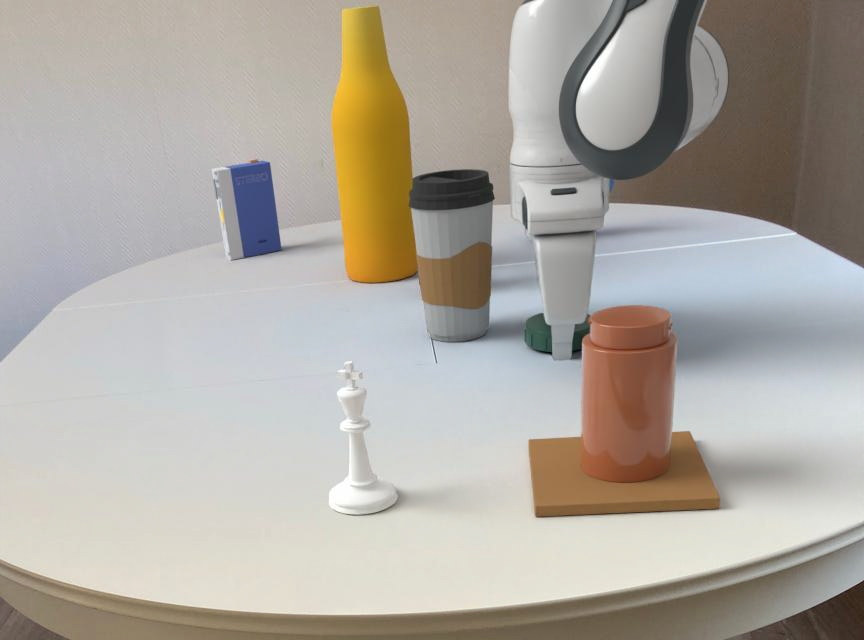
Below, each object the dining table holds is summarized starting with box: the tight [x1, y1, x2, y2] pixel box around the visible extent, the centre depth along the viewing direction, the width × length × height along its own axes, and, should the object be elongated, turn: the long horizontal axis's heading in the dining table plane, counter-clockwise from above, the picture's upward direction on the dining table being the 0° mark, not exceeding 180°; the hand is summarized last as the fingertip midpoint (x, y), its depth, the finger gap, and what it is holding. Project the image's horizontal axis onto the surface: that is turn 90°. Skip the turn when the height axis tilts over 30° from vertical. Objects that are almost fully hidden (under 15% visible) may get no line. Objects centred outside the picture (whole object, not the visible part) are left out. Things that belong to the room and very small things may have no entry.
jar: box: [580, 304, 679, 483], centre depth 72 cm, size 6×6×10 cm
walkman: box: [211, 158, 283, 261], centre depth 147 cm, size 8×3×12 cm, turn 117°
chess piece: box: [328, 360, 399, 516], centre depth 73 cm, size 5×5×10 cm
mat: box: [527, 430, 721, 518], centre depth 75 cm, size 12×12×1 cm
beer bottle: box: [330, 5, 418, 284], centre depth 126 cm, size 9×9×29 cm
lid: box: [524, 312, 592, 353], centre depth 102 cm, size 7×7×2 cm
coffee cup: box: [409, 168, 496, 343], centre depth 104 cm, size 8×8×15 cm
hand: (559, 346), depth 102 cm, fingers closed on lid, 7 cm apart
